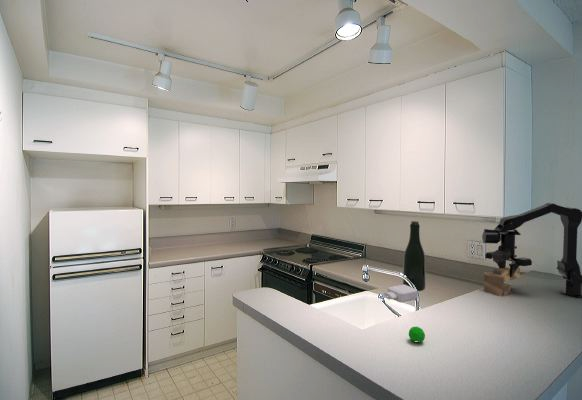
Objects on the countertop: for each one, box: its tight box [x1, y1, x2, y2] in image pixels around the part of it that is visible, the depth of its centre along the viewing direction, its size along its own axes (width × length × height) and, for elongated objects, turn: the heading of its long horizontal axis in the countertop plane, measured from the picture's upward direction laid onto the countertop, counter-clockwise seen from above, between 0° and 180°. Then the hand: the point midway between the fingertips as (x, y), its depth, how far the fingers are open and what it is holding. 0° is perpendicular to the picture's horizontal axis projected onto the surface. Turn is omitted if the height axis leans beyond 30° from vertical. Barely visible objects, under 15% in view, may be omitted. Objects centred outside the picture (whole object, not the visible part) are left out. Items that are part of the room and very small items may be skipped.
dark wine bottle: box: [402, 220, 427, 292], centre depth 160 cm, size 10×10×33 cm
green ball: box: [408, 326, 426, 342], centre depth 107 cm, size 5×5×5 cm
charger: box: [382, 284, 419, 303], centre depth 146 cm, size 5×9×15 cm
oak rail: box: [492, 266, 521, 282], centre depth 156 cm, size 14×4×5 cm, turn 114°
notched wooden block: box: [483, 271, 511, 297], centre depth 153 cm, size 6×9×9 cm
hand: (507, 276), depth 156 cm, fingers closed on oak rail, 3 cm apart
